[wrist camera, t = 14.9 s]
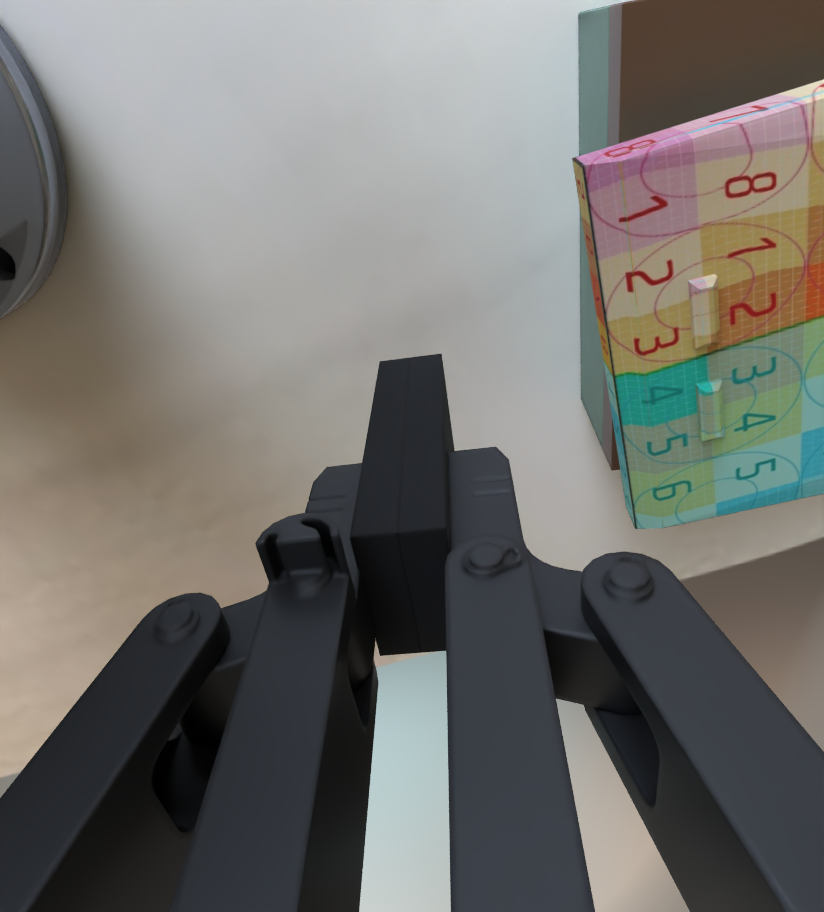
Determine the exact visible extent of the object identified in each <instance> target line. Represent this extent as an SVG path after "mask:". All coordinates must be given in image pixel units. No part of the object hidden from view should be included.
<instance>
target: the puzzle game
mask: <svg viewBox="0 0 824 912" xmlns="http://www.w3.org/2000/svg"><path fill="white" fill-rule="evenodd" d="M572 159H573V166H574V172H575V179H576V185H577V192H578V198H579V205H580V211H581V218H582V224H583V231H584V237H585V244H586V250H587V257H588V263H589V270H590V276H591V283H592V289H593V296H594V302H595V309H596V315H597V322H598V328H599V335H600V341H601V348H602V354H603V361H604V367H605V374H606V380H607V387H608V393H609V400H610V406H611V413H612V419H613V426H614V432H615V439H616V445H617V452H618V458H619V465H620V471H621V478H622V484H623V491H624V497H625V504H626V508H627V510H628V513H629V515H630V517H631V520H632V522H633V524H634V527H635V529H646V528H666V527H671V526H675V525H680V524H685V523H689V522H694V521H699V520H703V519H708V518H713V517H717V516H722V515H727V514H731V513H736V512H740V511H745V510H750V509H754V508H759V507H764V506H768V505H773V504H778V503H782V502H787V501H792V500H796V499H801V498H806V497H810V496H815V495H820V494H824V80H821V81H817V82H814V83H811V84H808V85H805V86H801V87H798V88H795V89H792V90H789V91H785V92H782V93H779V94H776V95H773V96H770V97H766V98H763V99H760V100H757V101H754V102H750V103H747V104H744V105H741V106H738V107H734V108H731V109H728V110H725V111H722V112H719V113H715V114H712V115H709V116H706V117H703V118H699V119H696V120H693V121H690V122H687V123H683V124H680V125H677V126H674V127H671V128H668V129H664V130H661V131H658V132H655V133H652V134H648V135H645V136H642V137H639V138H636V139H632V140H629V141H626V142H623V143H620V144H617V145H613V146H610V147H607V148H604V149H601V150H597V151H594V152H591V153H588V154H585V155H581V156H578V157H575V158H572Z"/></svg>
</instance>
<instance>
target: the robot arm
mask: <svg viewBox="0 0 824 912" xmlns="http://www.w3.org/2000/svg"><path fill="white" fill-rule="evenodd" d="M66 214H67V189H66V178H65V170H64V164H63V159H62V153H61V149H60V145H59V142H58V138H57V134H56V131H55V128H54V125H53V122H52V119H51V117H50V114H49V111H48V108H47V106H46V103H45V101H44V99H43V97H42V94H41V92H40V90H39V88H38V86H37V83H36V82H35V80H34V78H33V76H32V74H31V72H30V70H29V68H28V67H27V65H26V63H25V61H24V59H23V58H22V56H21V55H20V53H19V51H18V50H17V48H16V47H15V45H14V43H13V42H12V40H11V39H10V37H9V36H8V34H7V33H6V32H5V30H4V29H3V28H2V26H1V25H0V319H1V318H3V317H4V316H6V315H7V314H9V313H11V312H12V311H14V310H15V309H17V308H19V307H20V306H21V305H22V304H24V303H25V302H26V301H27V300H28V299H30V298H31V297H32V296H33V294H34V293H35V292H36V291H37V290H38V289H39V288H40V287H41V285H42V284H43V282H44V281H45V279H46V278H47V277H48V275H49V273H50V271H51V269H52V267H53V265H54V263H55V261H56V259H57V256H58V253H59V250H60V248H61V244H62V240H63V235H64V231H65V223H66ZM255 544H256V547H257V550H258V553H259V555H260V558H261V561H262V564H263V566H264V569H265V572H266V575H267V577H268V580H269V585H268V589H267V591H265V592H264V593H262V594H260V595H258V596H255V597H253V598H251V599H248V600H245V601H242V602H239V603H236V604H233V605H230V606H227V607H224V608H220V605H219V604H218V602H217V601H216V600H215V599H214V598H213V597H212V596H209V595H206V594H203V593H187V594H183V595H180V596H176V597H173V598H170V599H168V600H167V601H165V602H163V603H161V604H160V605H158V606H156V607H155V608H154V609H152V610H151V611H150V612H149V613H148V614H147V615H146V616H145V617H144V618H143V619H142V620H141V622H140V623H139V624H138V625H137V627H136V628H135V629H134V630H133V632H132V633H131V634H130V635H129V637H128V638H127V639H126V640H125V642H124V643H123V644H122V645H121V647H120V648H119V649H118V651H117V652H116V653H115V654H114V656H113V657H112V658H111V659H110V661H109V662H108V663H107V664H106V666H105V667H104V668H103V669H102V671H101V672H100V673H99V674H98V676H97V677H96V678H95V680H94V681H93V682H92V683H91V685H90V686H89V687H88V688H87V690H86V691H85V692H84V693H83V695H82V696H81V697H80V698H79V700H78V701H77V702H76V703H75V705H74V706H73V707H72V708H71V710H70V711H69V712H68V714H67V715H66V716H65V717H64V719H63V720H62V721H61V722H60V724H59V725H58V726H57V727H56V729H55V730H54V731H53V732H52V734H51V735H50V736H49V737H48V739H47V740H46V741H45V743H44V744H43V745H42V746H41V748H40V749H39V750H38V751H37V753H36V754H35V755H34V756H33V758H32V759H31V760H30V761H29V763H28V764H27V765H26V766H25V768H24V769H23V770H22V771H21V773H20V774H19V775H18V777H17V778H16V779H15V780H14V782H13V783H12V784H11V785H10V787H9V788H8V789H7V790H6V792H5V793H4V794H3V796H2V797H1V798H0V912H359V905H360V892H361V881H362V869H363V857H364V846H365V834H366V833H365V832H366V822H367V810H368V798H369V786H370V774H371V762H372V751H373V739H374V727H375V715H376V703H377V691H378V678H377V671H376V667H375V663H374V660H373V658H374V648H375V638H376V642H377V646H378V649H379V653H380V656H382V655H395V654H408V653H421V652H434V651H446V654H447V708H448V709H447V710H448V711H447V712H448V769H449V825H450V879H451V880H450V882H451V912H595V909H594V904H593V899H592V893H591V887H590V882H589V877H588V872H587V866H586V860H585V855H584V849H583V844H582V839H581V833H580V828H579V822H578V817H577V812H576V807H575V801H574V795H573V790H572V785H571V779H570V774H569V768H568V763H567V757H566V752H565V747H564V741H563V736H562V730H561V725H560V719H559V714H558V709H557V703H556V698H557V699H561V700H566V701H570V702H575V703H579V704H583V705H584V707H585V711H586V713H587V714H588V716H589V718H590V720H591V722H592V724H593V726H594V728H595V730H596V732H597V734H598V736H599V737H600V739H601V741H602V743H603V745H604V747H605V749H606V751H607V753H608V755H609V757H610V759H611V761H612V762H613V764H614V766H615V768H616V770H617V772H618V774H619V776H620V778H621V780H622V782H623V784H624V785H625V787H626V789H627V791H628V793H629V795H630V797H631V799H632V801H633V803H634V805H635V807H636V809H637V811H638V812H639V814H640V816H641V818H642V820H643V822H644V824H645V826H646V828H647V830H648V832H649V834H650V836H651V837H652V839H653V841H654V843H655V845H656V847H657V849H658V851H659V853H660V855H661V857H662V859H663V861H664V862H665V864H666V866H667V868H668V870H669V872H670V874H671V876H672V878H673V880H674V882H675V884H676V885H677V887H678V889H679V891H680V893H681V895H682V897H683V899H684V901H685V903H686V905H687V907H688V908H689V910H690V912H824V752H823V751H822V749H821V748H820V747H819V746H818V745H817V744H816V742H815V741H814V740H813V739H812V738H811V736H810V735H809V734H808V733H807V732H806V731H805V729H804V728H803V727H802V726H801V725H800V723H799V722H798V721H797V720H796V719H795V717H794V716H793V715H792V714H791V713H790V712H789V710H788V709H787V708H786V707H785V706H784V704H783V703H782V702H781V701H780V700H779V698H778V697H777V696H776V695H775V694H774V693H773V691H772V690H771V689H770V688H769V687H768V685H767V684H766V683H765V682H764V681H763V679H762V678H761V677H760V676H759V675H758V674H757V672H756V671H755V670H754V669H753V668H752V667H751V665H750V664H749V663H748V662H747V661H746V659H745V658H744V657H743V656H742V655H741V653H740V652H739V651H738V650H737V649H736V647H735V646H734V645H733V644H732V643H731V642H730V640H729V639H728V638H727V637H726V636H725V634H724V633H723V632H722V631H721V630H720V629H719V627H718V626H717V625H716V624H715V623H714V621H713V620H712V619H711V618H710V617H709V615H708V614H707V613H706V612H705V611H704V610H703V608H702V607H701V606H700V605H699V604H698V603H697V601H696V600H695V599H694V598H693V596H692V595H691V594H690V593H689V592H688V591H687V589H686V588H685V587H684V586H683V585H682V583H681V582H680V581H679V580H678V579H677V577H676V576H675V575H674V574H673V573H672V572H671V571H670V570H669V569H668V568H667V567H666V566H664V565H663V564H662V563H661V562H659V561H658V560H655V559H653V558H651V557H648V556H646V555H643V554H638V553H631V552H617V553H608V554H605V555H603V556H600V557H598V558H596V559H594V560H592V561H591V562H590V563H589V564H588V565H587V566H586V567H585V568H584V570H583V572H581V571H574V570H568V569H563V568H558V567H554V566H551V565H549V564H547V563H544V562H542V561H540V560H539V559H538V558H536V557H535V556H533V555H532V554H531V552H530V551H529V550H528V549H527V548H526V545H525V543H524V540H523V535H522V529H521V524H520V519H519V513H518V508H517V502H516V497H515V492H514V486H513V480H512V475H511V469H510V464H509V459H508V458H507V457H506V456H505V455H504V454H503V453H502V452H501V451H500V450H499V449H498V448H497V447H489V448H480V449H471V450H462V451H454V444H453V436H452V429H451V421H450V414H449V406H448V399H447V391H446V384H445V376H444V369H443V361H442V354H436V355H428V356H420V357H412V358H404V359H396V360H388V361H380V363H379V369H378V375H377V381H376V386H375V392H374V398H373V404H372V410H371V415H370V421H369V427H368V433H367V439H366V444H365V450H364V456H363V462H362V463H359V464H350V465H341V466H332V467H326V469H325V470H324V471H323V472H322V473H321V474H320V475H319V476H318V478H317V479H316V480H315V481H314V482H313V485H312V489H311V492H310V496H309V502H308V503H307V507H306V510H305V513H302V514H298V515H293V516H289V517H286V518H284V519H282V520H280V521H278V522H276V523H273V524H272V525H271V526H270V527H269V528H267V529H266V530H265V531H264V532H262V534H261V535H260V537H259V538H258V540H257V541H256V543H255Z"/></svg>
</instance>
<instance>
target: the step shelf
mask: <svg viewBox="0 0 824 912" xmlns="http://www.w3.org/2000/svg"><path fill="white" fill-rule="evenodd" d="M578 21H579V156H581V155H585V154H588V153H591V152H594V151H597V150H601V149H604V148H607V147H610V146H613V145H617V144H620V143H623V142H626V141H629V140H632V139H636V138H639V137H642V136H645V135H648V134H652V133H655V132H658V131H661V130H664V129H668V128H671V127H674V126H677V125H680V124H683V123H687V122H690V121H693V120H696V119H699V118H703V117H706V116H709V115H712V114H715V113H719V112H722V111H725V110H728V109H731V108H734V107H738V106H741V105H744V104H747V103H750V102H754V101H757V100H760V99H763V98H766V97H770V96H773V95H776V94H779V93H782V92H785V91H789V90H792V89H795V88H798V87H801V86H805V85H808V84H811V83H814V82H817V81H821V80H824V0H634V1H628V2H623V3H619V4H614V5H610V6H606V7H601V8H597V9H592V10H588V11H584V12H580V13H579V15H578ZM580 326H581V400H582V402H583V404H584V407H585V409H586V411H587V414H588V416H589V419H590V421H591V423H592V426H593V428H594V430H595V433H596V435H597V437H598V440H599V442H600V444H601V447H602V449H603V452H604V454H605V456H606V459H607V461H608V463H609V466H610V468H611V470H620V465H619V458H618V452H617V445H616V439H615V432H614V426H613V419H612V413H611V406H610V400H609V393H608V387H607V380H606V374H605V367H604V361H603V354H602V348H601V341H600V335H599V328H598V322H597V315H596V309H595V302H594V296H593V289H592V283H591V276H590V270H589V263H588V257H587V250H586V244H585V237H584V231H583V224H582V218H581V211H580Z"/></svg>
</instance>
